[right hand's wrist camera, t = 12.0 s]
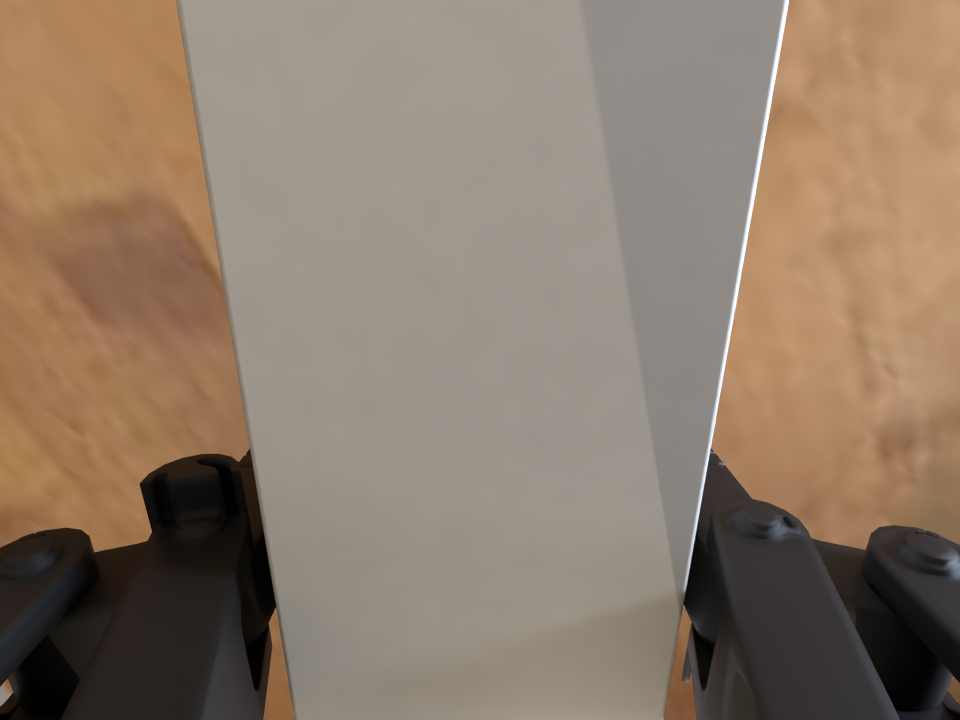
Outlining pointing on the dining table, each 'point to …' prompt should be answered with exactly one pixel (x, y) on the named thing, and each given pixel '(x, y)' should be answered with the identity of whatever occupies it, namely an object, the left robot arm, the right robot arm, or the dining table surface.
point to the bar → (480, 330)
